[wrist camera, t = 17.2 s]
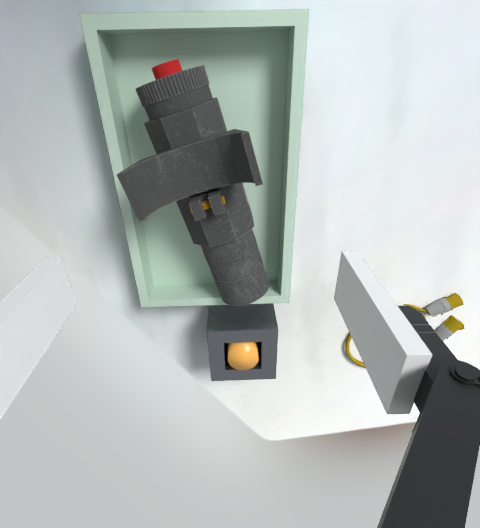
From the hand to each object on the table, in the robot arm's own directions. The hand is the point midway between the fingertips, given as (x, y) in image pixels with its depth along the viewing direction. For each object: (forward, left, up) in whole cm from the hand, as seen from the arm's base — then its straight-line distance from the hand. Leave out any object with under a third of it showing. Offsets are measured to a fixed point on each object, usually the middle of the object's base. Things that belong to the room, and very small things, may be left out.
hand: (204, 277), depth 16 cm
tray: (+1, -1, -21) cm, 21 cm away
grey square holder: (+20, +2, -21) cm, 29 cm away
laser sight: (+1, -1, -20) cm, 20 cm away
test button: (+20, +2, -19) cm, 28 cm away
